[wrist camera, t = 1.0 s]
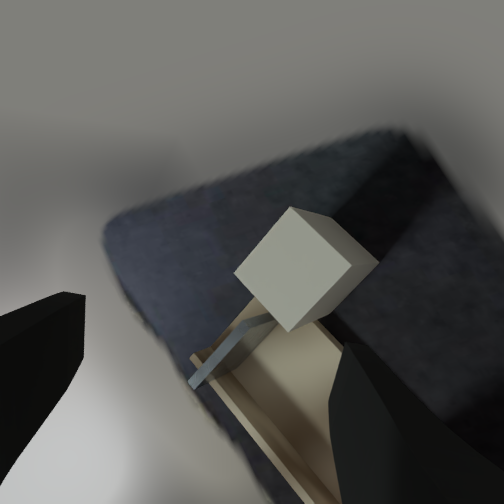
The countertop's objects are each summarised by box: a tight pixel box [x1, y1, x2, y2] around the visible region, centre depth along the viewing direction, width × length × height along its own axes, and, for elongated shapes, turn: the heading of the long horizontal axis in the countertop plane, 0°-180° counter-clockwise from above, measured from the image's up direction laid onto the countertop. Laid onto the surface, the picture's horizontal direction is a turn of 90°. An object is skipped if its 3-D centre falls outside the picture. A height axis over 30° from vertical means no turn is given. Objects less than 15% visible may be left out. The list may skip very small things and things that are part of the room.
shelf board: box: [190, 297, 344, 504], centre depth 25 cm, size 18×7×3 cm, turn 48°
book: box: [234, 207, 380, 332], centre depth 24 cm, size 4×4×7 cm
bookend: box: [188, 312, 279, 390], centre depth 25 cm, size 1×5×5 cm, turn 138°
